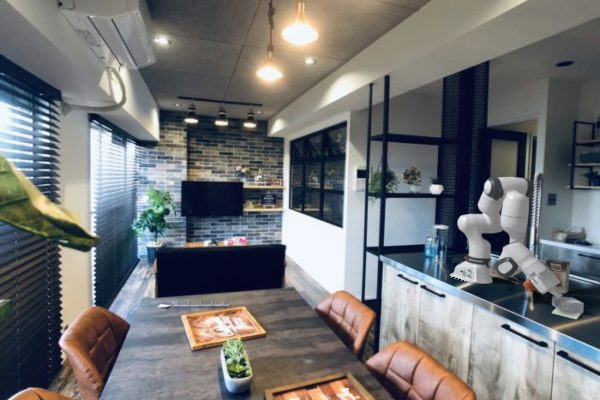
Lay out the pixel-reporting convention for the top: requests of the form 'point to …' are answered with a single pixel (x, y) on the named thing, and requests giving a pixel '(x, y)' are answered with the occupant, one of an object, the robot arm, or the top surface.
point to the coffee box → (560, 273)
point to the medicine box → (568, 304)
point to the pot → (530, 286)
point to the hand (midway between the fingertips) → (560, 297)
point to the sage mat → (567, 313)
